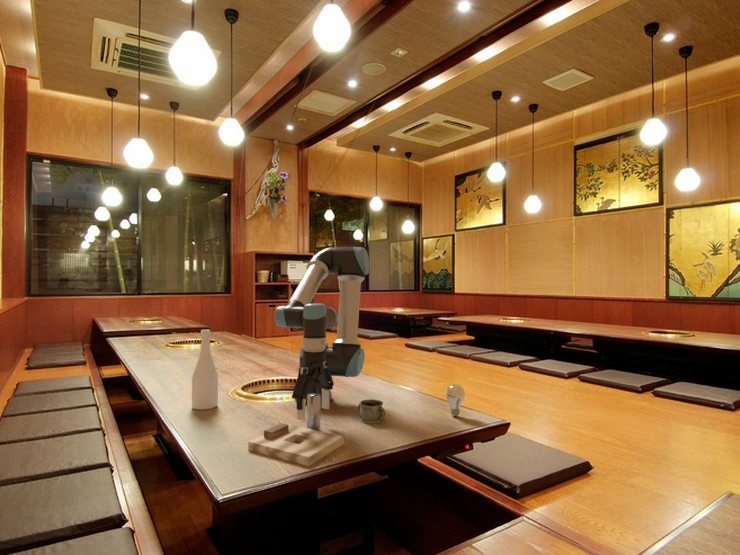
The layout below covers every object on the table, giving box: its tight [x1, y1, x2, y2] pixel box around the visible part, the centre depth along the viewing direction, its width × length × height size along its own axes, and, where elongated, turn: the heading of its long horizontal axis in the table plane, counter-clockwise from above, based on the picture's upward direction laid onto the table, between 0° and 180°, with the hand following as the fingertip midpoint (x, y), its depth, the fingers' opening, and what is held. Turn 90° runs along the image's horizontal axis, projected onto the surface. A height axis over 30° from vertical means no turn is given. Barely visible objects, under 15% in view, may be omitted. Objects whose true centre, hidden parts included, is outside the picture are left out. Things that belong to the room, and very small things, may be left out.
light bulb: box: [445, 383, 465, 418], centre depth 165 cm, size 7×7×12 cm
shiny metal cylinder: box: [306, 393, 322, 431], centre depth 148 cm, size 4×4×12 cm
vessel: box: [357, 398, 386, 424], centre depth 161 cm, size 12×9×6 cm
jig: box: [247, 422, 345, 467], centre depth 134 cm, size 22×18×4 cm
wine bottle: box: [191, 329, 219, 411], centre depth 173 cm, size 10×10×30 cm
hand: (313, 413), depth 148 cm, fingers open, 13 cm apart
